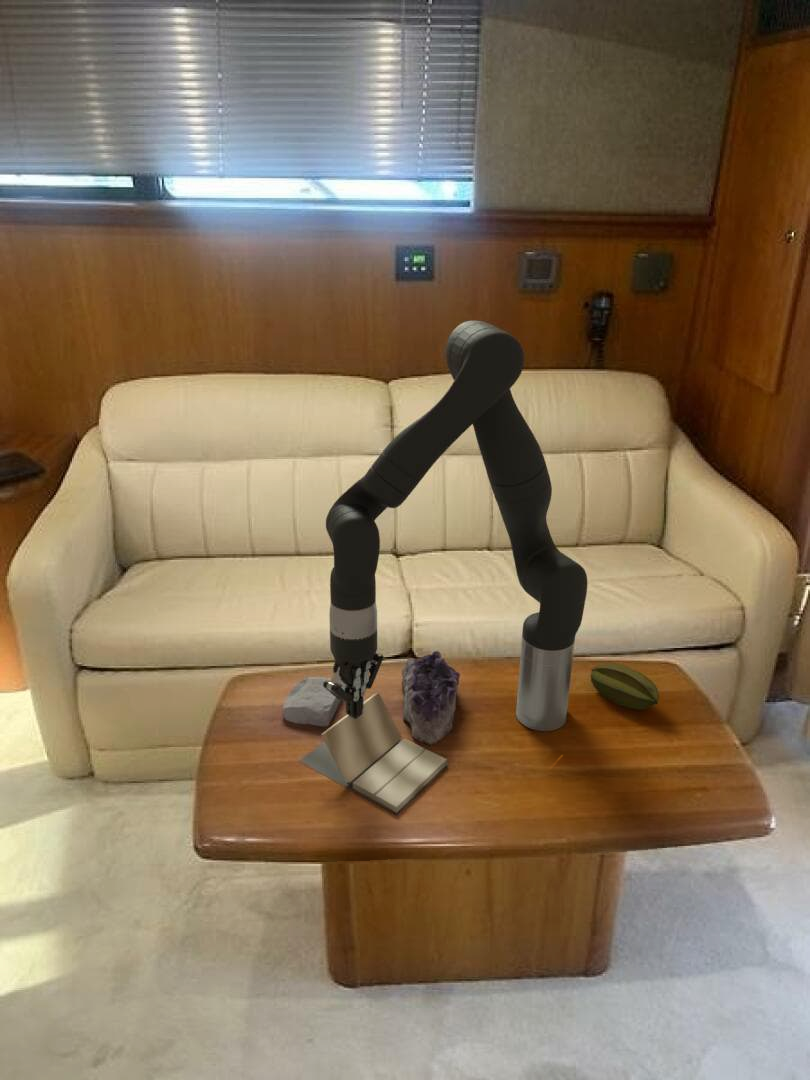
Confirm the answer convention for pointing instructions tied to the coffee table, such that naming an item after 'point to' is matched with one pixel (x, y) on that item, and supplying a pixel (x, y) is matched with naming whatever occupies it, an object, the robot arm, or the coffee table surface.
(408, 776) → the laid floor
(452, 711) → the geode
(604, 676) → the fruit
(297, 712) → the stone block
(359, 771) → the beige flat rectangular panel
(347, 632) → the robot arm
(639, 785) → the coffee table surface
